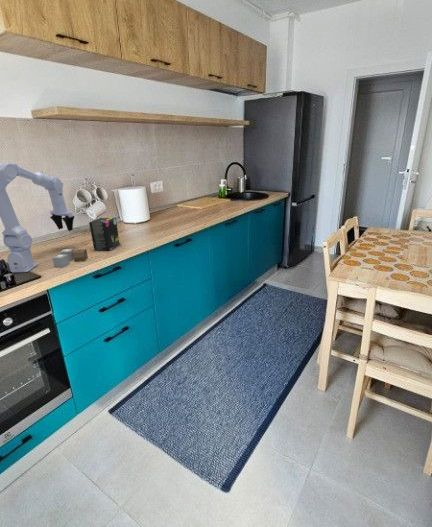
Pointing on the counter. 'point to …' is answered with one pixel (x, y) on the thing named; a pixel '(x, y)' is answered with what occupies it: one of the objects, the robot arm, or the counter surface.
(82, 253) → the walnut cube
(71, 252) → the grey dot cube
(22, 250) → the robot arm
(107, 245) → the tampon box
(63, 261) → the grey dot cube
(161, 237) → the counter surface
